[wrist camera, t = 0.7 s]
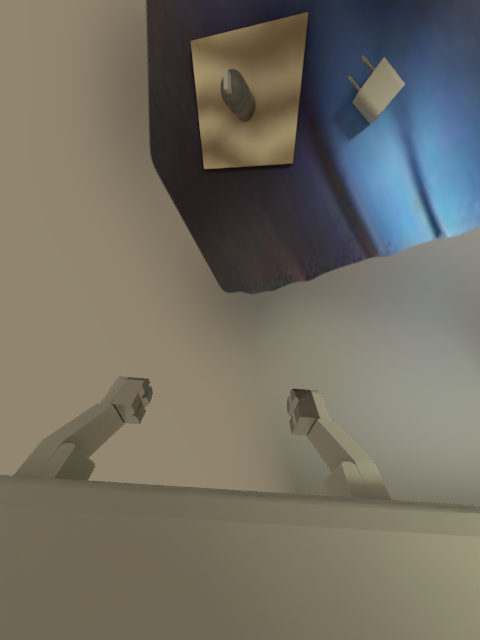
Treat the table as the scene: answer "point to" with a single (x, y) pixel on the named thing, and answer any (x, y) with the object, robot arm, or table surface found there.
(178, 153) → the table surface
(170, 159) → the table surface
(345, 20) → the table surface
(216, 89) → the birch board
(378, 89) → the usb wall charger
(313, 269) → the table surface
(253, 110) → the dark bottle
